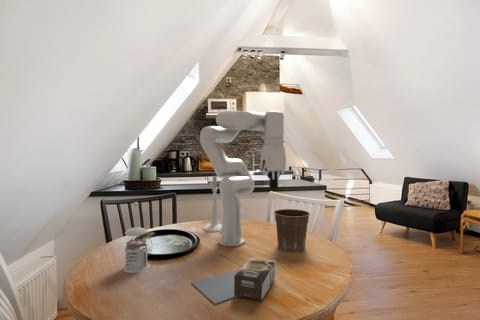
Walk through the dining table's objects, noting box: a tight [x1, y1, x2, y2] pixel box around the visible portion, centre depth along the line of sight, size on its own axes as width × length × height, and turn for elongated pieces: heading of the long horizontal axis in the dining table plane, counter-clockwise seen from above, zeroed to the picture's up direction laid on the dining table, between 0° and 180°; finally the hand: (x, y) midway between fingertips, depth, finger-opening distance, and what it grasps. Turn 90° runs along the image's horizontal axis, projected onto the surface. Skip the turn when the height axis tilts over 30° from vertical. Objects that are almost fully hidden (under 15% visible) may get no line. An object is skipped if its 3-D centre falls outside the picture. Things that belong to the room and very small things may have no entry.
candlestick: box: [203, 175, 222, 233], centre depth 163 cm, size 13×13×30 cm
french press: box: [122, 201, 153, 274], centre depth 110 cm, size 10×12×25 cm
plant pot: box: [273, 208, 311, 252], centre depth 133 cm, size 16×16×16 cm
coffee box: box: [234, 257, 276, 301], centre depth 95 cm, size 9×6×16 cm
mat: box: [190, 269, 240, 306], centre depth 97 cm, size 16×18×1 cm
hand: (273, 188), depth 117 cm, fingers closed
